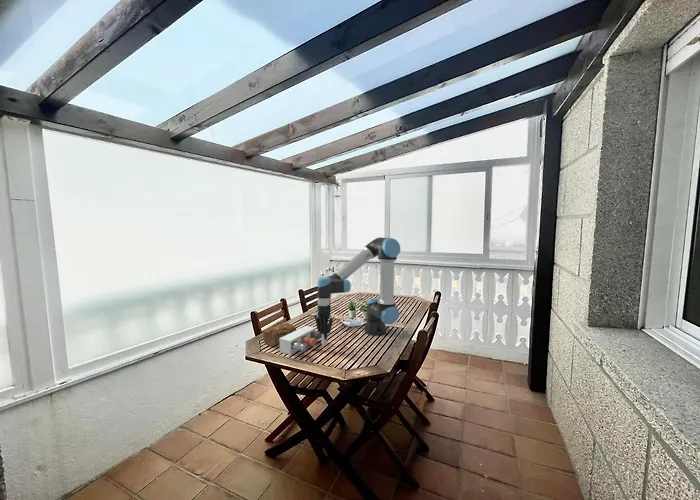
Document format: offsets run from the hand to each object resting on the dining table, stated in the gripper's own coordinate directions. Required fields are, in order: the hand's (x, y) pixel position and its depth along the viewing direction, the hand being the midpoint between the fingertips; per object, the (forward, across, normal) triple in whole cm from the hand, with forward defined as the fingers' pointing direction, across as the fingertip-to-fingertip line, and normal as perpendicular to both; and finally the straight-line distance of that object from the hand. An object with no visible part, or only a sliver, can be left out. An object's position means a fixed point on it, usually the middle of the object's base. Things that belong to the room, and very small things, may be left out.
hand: (323, 344), depth 167 cm
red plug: (+2, +11, +2) cm, 12 cm away
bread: (+5, +33, +2) cm, 33 cm away
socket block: (+4, +17, +2) cm, 18 cm away
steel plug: (+2, +11, +11) cm, 16 cm away
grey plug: (+2, +14, -7) cm, 16 cm away
